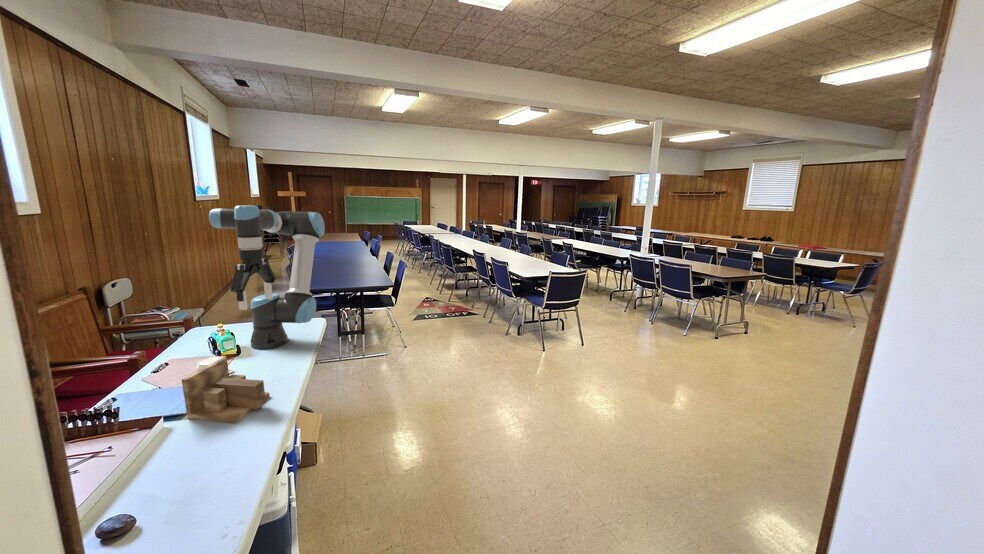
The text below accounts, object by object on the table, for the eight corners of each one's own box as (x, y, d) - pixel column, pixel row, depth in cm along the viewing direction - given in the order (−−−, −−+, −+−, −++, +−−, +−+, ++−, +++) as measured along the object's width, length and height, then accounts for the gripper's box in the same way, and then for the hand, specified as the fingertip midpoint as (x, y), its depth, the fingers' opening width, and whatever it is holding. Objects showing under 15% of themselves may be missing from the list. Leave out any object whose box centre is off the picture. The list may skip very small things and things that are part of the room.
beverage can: (213, 398, 130) (209, 366, 128) (194, 395, 132) (189, 364, 129) (233, 387, 138) (230, 357, 136) (215, 384, 140) (211, 354, 137)
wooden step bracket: (227, 392, 135) (222, 357, 132) (269, 396, 133) (265, 361, 130) (187, 418, 119) (181, 379, 116) (234, 423, 118) (229, 383, 115)
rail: (225, 399, 128) (222, 377, 126) (265, 402, 127) (263, 380, 125) (216, 406, 124) (213, 383, 122) (257, 408, 123) (255, 386, 121)
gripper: (264, 243, 150) (269, 294, 155) (213, 253, 126) (221, 313, 131) (282, 244, 150) (287, 295, 154) (234, 254, 125) (241, 314, 130)
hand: (256, 304), depth 143 cm, fingers open, 13 cm apart
